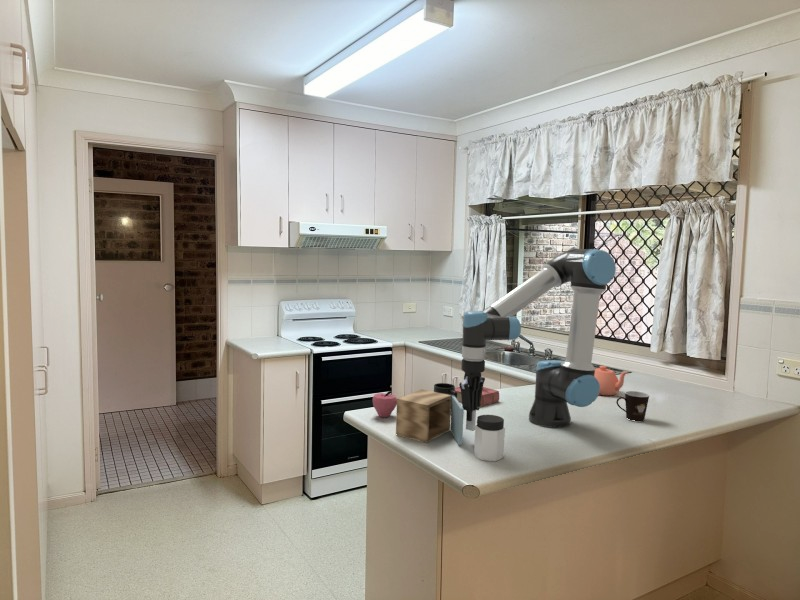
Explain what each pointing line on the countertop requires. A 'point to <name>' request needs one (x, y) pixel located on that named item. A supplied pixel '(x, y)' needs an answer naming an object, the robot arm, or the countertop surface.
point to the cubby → (423, 415)
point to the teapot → (608, 380)
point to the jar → (489, 438)
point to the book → (486, 398)
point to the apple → (384, 403)
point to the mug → (445, 389)
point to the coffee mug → (635, 405)
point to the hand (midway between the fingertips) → (470, 429)
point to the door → (457, 420)
